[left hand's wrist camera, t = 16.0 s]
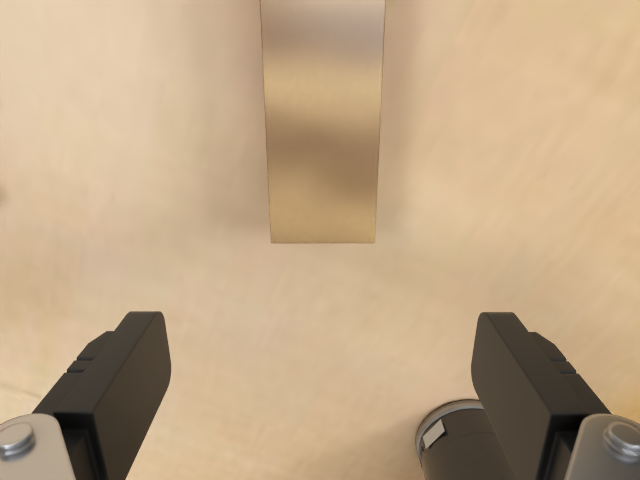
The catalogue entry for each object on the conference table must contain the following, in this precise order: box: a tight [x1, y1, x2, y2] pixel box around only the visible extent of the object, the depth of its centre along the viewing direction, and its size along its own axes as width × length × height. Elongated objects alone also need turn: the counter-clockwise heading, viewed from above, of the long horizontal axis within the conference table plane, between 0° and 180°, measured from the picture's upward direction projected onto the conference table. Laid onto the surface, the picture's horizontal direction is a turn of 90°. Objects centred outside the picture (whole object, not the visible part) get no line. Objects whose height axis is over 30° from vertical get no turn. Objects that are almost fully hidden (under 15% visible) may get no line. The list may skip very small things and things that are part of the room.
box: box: [260, 0, 386, 243], centre depth 27 cm, size 20×6×9 cm, turn 0°
